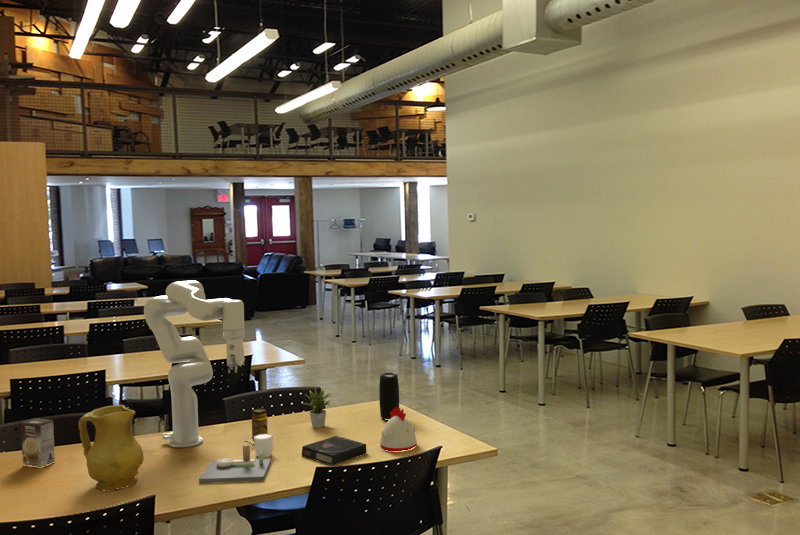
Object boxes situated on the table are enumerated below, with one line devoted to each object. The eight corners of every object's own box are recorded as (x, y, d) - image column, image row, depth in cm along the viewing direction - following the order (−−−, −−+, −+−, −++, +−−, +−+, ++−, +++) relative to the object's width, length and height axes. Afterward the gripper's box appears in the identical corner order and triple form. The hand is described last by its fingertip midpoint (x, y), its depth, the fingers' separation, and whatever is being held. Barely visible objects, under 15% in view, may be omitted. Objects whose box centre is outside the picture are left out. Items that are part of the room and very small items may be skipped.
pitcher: (109, 497, 210) (106, 418, 209) (74, 487, 220) (70, 411, 219) (155, 480, 225) (152, 406, 224) (120, 470, 235) (117, 399, 233)
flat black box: (301, 457, 246) (301, 446, 246) (336, 446, 259) (336, 435, 258) (331, 467, 235) (331, 456, 235) (366, 454, 247) (366, 444, 247)
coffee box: (21, 466, 241) (19, 422, 240) (36, 461, 247) (34, 417, 246) (41, 469, 238) (39, 424, 237) (56, 463, 244) (54, 419, 243)
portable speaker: (381, 422, 289) (379, 376, 288) (379, 416, 298) (378, 372, 297) (400, 421, 290) (399, 375, 289) (398, 415, 299) (397, 371, 298)
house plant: (333, 431, 276) (332, 392, 275) (300, 432, 276) (298, 392, 276) (337, 422, 290) (336, 384, 290) (305, 422, 291) (304, 385, 290)
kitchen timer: (396, 455, 245) (395, 414, 244) (372, 446, 256) (371, 407, 255) (424, 446, 254) (423, 407, 254) (400, 438, 265) (399, 401, 264)
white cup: (257, 459, 244) (256, 440, 244) (252, 453, 250) (251, 435, 250) (275, 455, 247) (275, 437, 247) (270, 450, 253) (269, 432, 253)
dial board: (198, 483, 221) (198, 466, 221) (211, 464, 239) (211, 449, 238) (263, 480, 222) (263, 464, 222) (271, 462, 240) (270, 447, 239)
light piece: (214, 467, 230) (214, 449, 230) (218, 462, 236) (217, 444, 235) (252, 466, 231) (252, 447, 230) (255, 460, 236) (254, 442, 236)
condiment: (272, 440, 267) (271, 410, 266) (253, 445, 261) (252, 414, 260) (262, 436, 272) (261, 407, 271) (243, 441, 266) (242, 411, 265)
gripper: (240, 337, 236) (242, 385, 236) (247, 330, 253) (249, 375, 254) (219, 338, 235) (220, 386, 236) (227, 331, 252) (229, 376, 253)
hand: (235, 380), depth 245 cm, fingers open, 9 cm apart
